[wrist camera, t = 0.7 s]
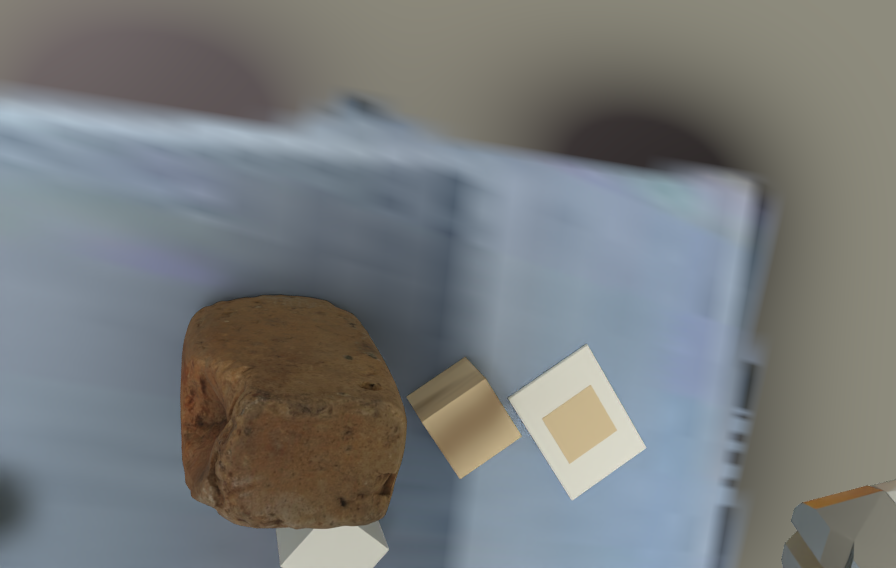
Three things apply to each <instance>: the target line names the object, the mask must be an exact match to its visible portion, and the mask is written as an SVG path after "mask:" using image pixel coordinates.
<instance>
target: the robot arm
mask: <svg viewBox="0 0 896 568" xmlns="http://www.w3.org/2000/svg"><path fill="white" fill-rule="evenodd" d="M791 522H792V523H793V525H794V526H795V528H796V529H797V531H796V532H795V533H794V534H793V535H792V536H791V538H789V539H788V540H787V542H785V545H784V550H783V555H782V564H783V568H896V479H894V480H890V481H886V482H883V483H878V484H874V485H871V486H868V485H867V486H863V487H859V488H855V489H851V490H848V491H844V492H840V493H836V494H832V495H829V496H825V497H821V498H817V499H813V500H809V501H806V502H802V503H801V504H799V505H798V506H797V507H796V508H795V509H794V512H793V515H792V519H791Z"/></svg>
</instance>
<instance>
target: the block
mask: <svg viewBox="0 0 896 568" xmlns="http://www.w3.org/2000/svg"><path fill="white" fill-rule="evenodd" d="M180 402H181V435H182V447H181V448H182V461H183V466H184V471H185V481H186V484H187V486H188V488H189V489H190V490H191V496H192V497H193V498H194V499H195V500H197V501H199V502H201V503H203V504H206V505H208V506H211V507H213V508H215V509H216V510H217V512H218V514H220V515H221V516H222V517H224V518H225V519H227V520H229V521H230V522H232V523H234V524H237V525H241V526H247V527H253V528H288V527H290V528H293V529H304V528H311V529H330V528H335V527H341V526H363V525H368V524H370V523H373V522H376V521H378V520H380V519H381V518H383V517H384V516H385V514H386V511H387V509H388V506H389V503H390V499H391V496H392V492H393V488H394V484H395V480H396V477H397V474H398V471H399V468H400V465H401V461H402V458H403V453H404V448H405V440H406V429H407V420H406V415H405V410H404V406H403V403H402V400H401V397H400V394H399V392H398V389H397V386H396V384H395V381H394V379H393V377H392V375H391V373H390V371H389V369H388V367H387V365H386V363H385V362H384V360H383V358H382V356H381V354H380V352H379V351H378V349H377V347H376V346H375V344H374V343H373V341H372V339H371V338H370V336H369V334H368V332H367V331H366V329H365V328H364V327H363V326H362V324H361V323H360V321H359V320H358V319H357V318H356V317H355V316H354V315H353V314H352V313H350V312H347V311H345V310H343V309H340V308H337V307H335V306H334V305H333V304H331V303H330V302H328V301H326V300H320V299H315V298H309V297H301V296H286V295H261V296H258V297H253V298H239V299H234V300H230V301H220V302H217V303H215V304H214V305H212V306H207V307H204V308H202V309H201V310H199V311H198V312H197V313H196V314H195V315H194V316H193V317H192V319H191V321H190V323H189V325H188V328H187V332H186V335H185V339H184V345H183V351H182V367H181V394H180Z"/></svg>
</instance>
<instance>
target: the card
mask: <svg viewBox="0 0 896 568" xmlns="http://www.w3.org/2000/svg"><path fill="white" fill-rule="evenodd" d="M508 400H509V401H510V403H511V404H512V406H513V408H514V409H515V411H516V412H517V414H518V416H519V417H520V419H521V420H522V422H523V424H524V425H525V427H526V428H527V430H528V432H529V433H530V435H531V436H532V438H533V440H534V441H535V443H536V444H537V446H538V448H539V449H540V451H541V452H542V454H543V456H544V457H545V459H546V460H547V462H548V464H549V465H550V467H551V469H552V470H553V472H554V473H555V475H556V477H557V478H558V480H559V481H560V483H561V485H562V486H563V488H564V489H565V491H566V493H567V494H568V496H569V497H570V499H571V500H574V499H575V498H576V497H578V496H579V495H581V494H582V493H584V492H585V491H586V490H588V489H589V488H591V487H592V486H593V485H595V484H596V483H598V482H599V481H600V480H602V479H603V478H605V477H606V476H607V475H609V474H610V473H612V472H613V471H615V470H616V469H617V468H619V467H620V466H622V465H623V464H624V463H626V462H627V461H629V460H630V459H631V458H633V457H634V456H636V455H637V454H638V453H640V452H641V451H643V450H644V449H645V448H646V446H645V445H644V443H643V441H642V439H641V438H640V436H639V434H638V432H637V431H636V429H635V427H634V425H633V424H632V422H631V420H630V418H629V417H628V415H627V413H626V411H625V410H624V408H623V406H622V404H621V403H620V401H619V399H618V397H617V396H616V394H615V392H614V390H613V388H612V387H611V385H610V383H609V381H608V380H607V378H606V376H605V374H604V373H603V371H602V369H601V367H600V366H599V364H598V362H597V360H596V359H595V357H594V355H593V353H592V352H591V350H590V348H589V346H588V345H587V344H585V345H584V346H582V347H581V348H579V349H578V350H577V351H575V352H574V353H572V354H571V355H569V356H568V357H566V358H565V359H563V360H562V361H561V362H559V363H558V364H556V365H555V366H553V367H552V368H550V369H549V370H547V371H546V372H545V373H543V374H542V375H540V376H539V377H537V378H536V379H534V380H533V381H532V382H530V383H529V384H527V385H526V386H524V387H523V388H521V389H520V390H518V391H517V392H516V393H514V394H513V395H511V396H510V397H508Z"/></svg>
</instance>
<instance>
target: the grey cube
mask: <svg viewBox="0 0 896 568" xmlns="http://www.w3.org/2000/svg"><path fill="white" fill-rule="evenodd" d="M276 535H277V543H278V551H279V559H280V566H281V567H282V568H373V567H374V566H375V565H376V564H377V563H378V561H379V560H380V559H381V558H382V557H383V556H384V555H385V554H386V553H387V551H388V550H389V548H388V545H387V542H386V540H385V537H384V534H383V531H382V529H381V526H380V523H379V521H376V522H373V523H370V524H368V525H363V526H341V527H335V528H330V529H311V528H304V529H293V528H290V527H288V528H276Z"/></svg>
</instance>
